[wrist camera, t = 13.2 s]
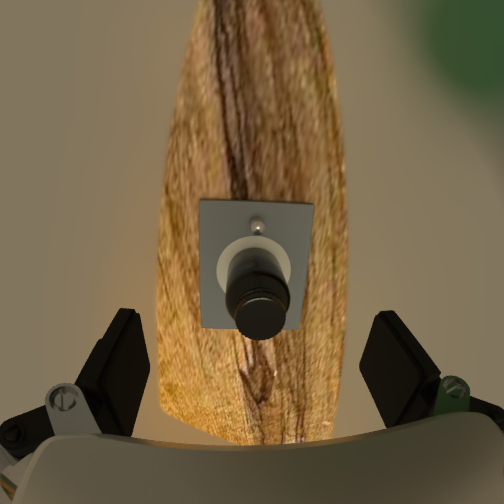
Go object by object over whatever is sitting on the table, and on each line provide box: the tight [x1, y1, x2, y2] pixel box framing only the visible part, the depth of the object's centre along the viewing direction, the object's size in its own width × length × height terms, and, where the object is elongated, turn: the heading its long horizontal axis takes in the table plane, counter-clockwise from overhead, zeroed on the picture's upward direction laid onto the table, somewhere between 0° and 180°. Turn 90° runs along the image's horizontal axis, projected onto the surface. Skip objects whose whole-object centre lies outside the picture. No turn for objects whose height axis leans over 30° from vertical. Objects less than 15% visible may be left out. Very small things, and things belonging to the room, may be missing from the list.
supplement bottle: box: [225, 247, 291, 341], centre depth 32 cm, size 7×7×12 cm
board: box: [199, 199, 314, 330], centre depth 37 cm, size 18×14×4 cm
